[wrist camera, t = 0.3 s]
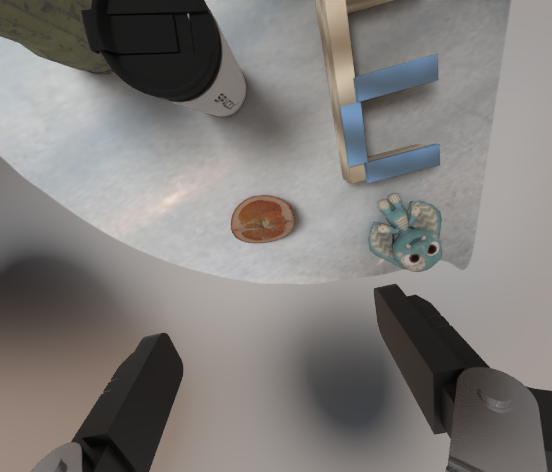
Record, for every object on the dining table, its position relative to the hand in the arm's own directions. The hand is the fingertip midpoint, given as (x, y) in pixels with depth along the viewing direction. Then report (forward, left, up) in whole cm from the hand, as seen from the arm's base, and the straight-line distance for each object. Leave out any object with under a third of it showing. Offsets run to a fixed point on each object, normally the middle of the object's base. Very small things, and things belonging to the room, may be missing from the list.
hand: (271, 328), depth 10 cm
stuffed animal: (+11, +17, -29) cm, 35 cm away
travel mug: (-13, -3, -29) cm, 32 cm away
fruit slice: (+4, -2, -29) cm, 29 cm away
